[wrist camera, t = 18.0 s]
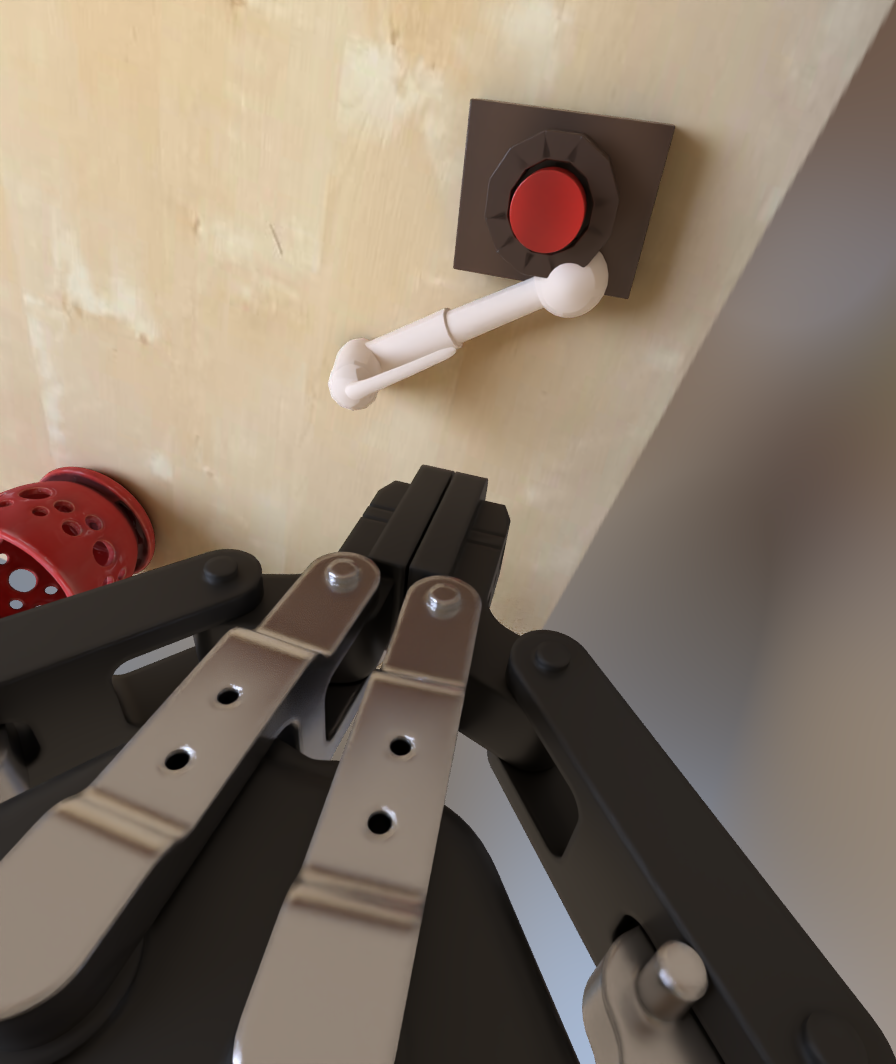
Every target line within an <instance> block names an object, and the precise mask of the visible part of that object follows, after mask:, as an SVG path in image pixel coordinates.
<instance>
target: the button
mask: <svg viewBox="0 0 896 1064" xmlns="http://www.w3.org/2000/svg"><path fill="white" fill-rule="evenodd" d="M586 210H587V199H586V193H585V190H584V188H583V186H582V184H581V182H580V181H579V179H578V178H577V177H576V176H575V175H574V174H573V173H571V172H570V171H568V170H566V169H564V168H560V167H546V168H543V169H540V170H538V171H536V172H534V173H533V174H531V175H530V176H529V177H527V178H526V179H525V180H524V181H523V182H522V183H521V184H520V185H519V186H518V188H517V190H516V191H515V193H514V195H513V198H512V201H511V205H510V223H511V227H512V230H513V232H514V234H515V236H516V238H517V239H518V240H519V242H520V243H521V244H522V245H524V246H525V247H526V248H528V249H529V250H532V251H534V252H538V253H552V252H556V251H558V250H561V249H563V248H564V247H566V246H567V245H568V244H569V243H571V242H572V240H573V239H574V238H575V237H576V235H577V234H578V232H579V230H580V228H581V226H582V224H583V221H584V219H585V215H586Z"/></svg>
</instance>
